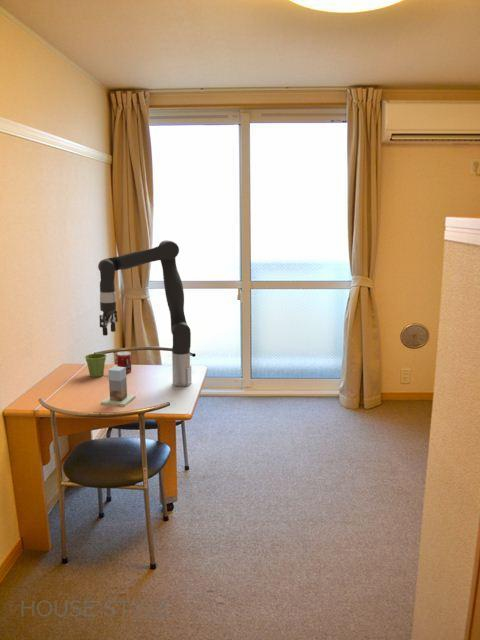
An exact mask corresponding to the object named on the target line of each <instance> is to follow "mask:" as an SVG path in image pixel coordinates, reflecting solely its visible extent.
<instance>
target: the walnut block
mask: <svg viewBox="0 0 480 640" xmlns="http://www.w3.org/2000/svg"><path fill="white" fill-rule="evenodd" d="M127 395H128V387H127V388H125V389H124V390H122V391H111V390H109V396H110V400H111V401H123V400H124V399H125V398H127Z"/></svg>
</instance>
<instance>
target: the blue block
mask: <svg viewBox="0 0 480 640" xmlns="http://www.w3.org/2000/svg"><path fill="white" fill-rule="evenodd" d="M107 372H108V374H107V375H108V381H109V380H113V381H121V380H123V379H124V378H126V379H127V374H126V367H117V366H116V365H114V366H112V367H110V368H109V369H108V371H107Z"/></svg>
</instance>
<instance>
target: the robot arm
mask: <svg viewBox="0 0 480 640" xmlns="http://www.w3.org/2000/svg"><path fill="white" fill-rule="evenodd" d="M179 253H180V247H179V245H178V243H176V242H174V241H173V240H166V239H165V240H162V241H161V242H160V243H159V244H158V246H155V247H152V248H149V249H144V250H143V249H142V250H138V251H133V252H128V253H124V254H122V255H117V256H113V257H108V258H104V259H102V260H100V261H99V263H98V268H97V269H98V270H99V274H100V275H99V276H100V281H99V308H100V309H99V310H100V312H102V314H99V327H100V328H102V336H108V335H109V334H108V326H109V325H110V332H111V333H113V332H116V324H117V323H118V310H117V295H116V285H115V278H116V276H115V275H116V271H121V270H128V269H133V268H135V267H139V266H142V265H145V264H147V263H153V262H156V261H160V263H161V269H162V277H163V285H164V292H165V298H166V303H167V307H168V310H169V315H170V332H171V334H172V347H171V357H172V358H171V359H172V360H171V361H172V363H171V364H172V369H171V370H172V385H173V386H176V387H189V385H191V383H192V365H191V345H192V344H191V342H192V339H191V337H192V336H191V335H192V334H191V333H192V332H191V331H192V330H191V328H190V326H189V325H188V323H187V320H186V315H185V293H184V287H183V285H184V284H183V282H182V279H181V276H180V273H179V270H178V267H177V263H176V260H177V259H176V257H177V256H179Z"/></svg>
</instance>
